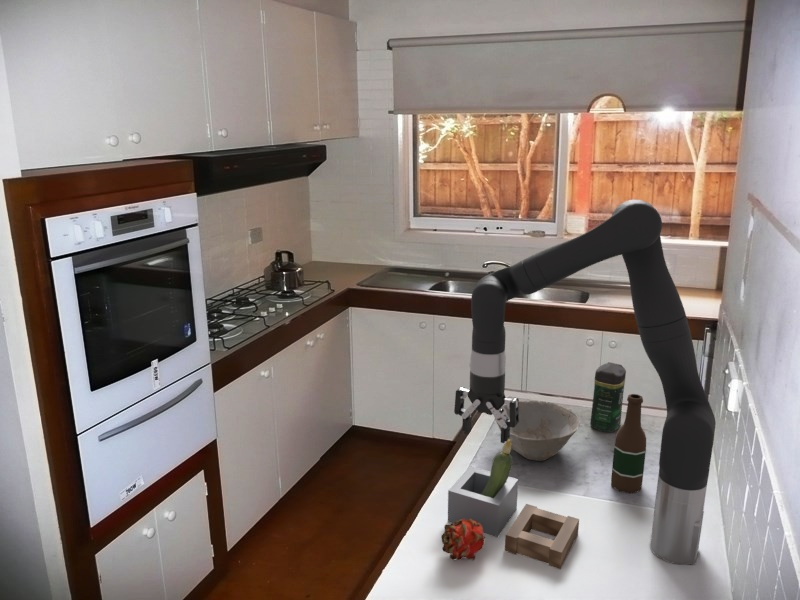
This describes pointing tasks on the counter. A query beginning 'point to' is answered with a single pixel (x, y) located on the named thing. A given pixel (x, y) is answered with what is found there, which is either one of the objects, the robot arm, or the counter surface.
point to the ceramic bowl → (541, 429)
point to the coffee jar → (608, 397)
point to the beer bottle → (629, 450)
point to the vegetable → (499, 471)
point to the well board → (540, 547)
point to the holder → (482, 501)
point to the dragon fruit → (463, 539)
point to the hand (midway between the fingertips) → (485, 437)
